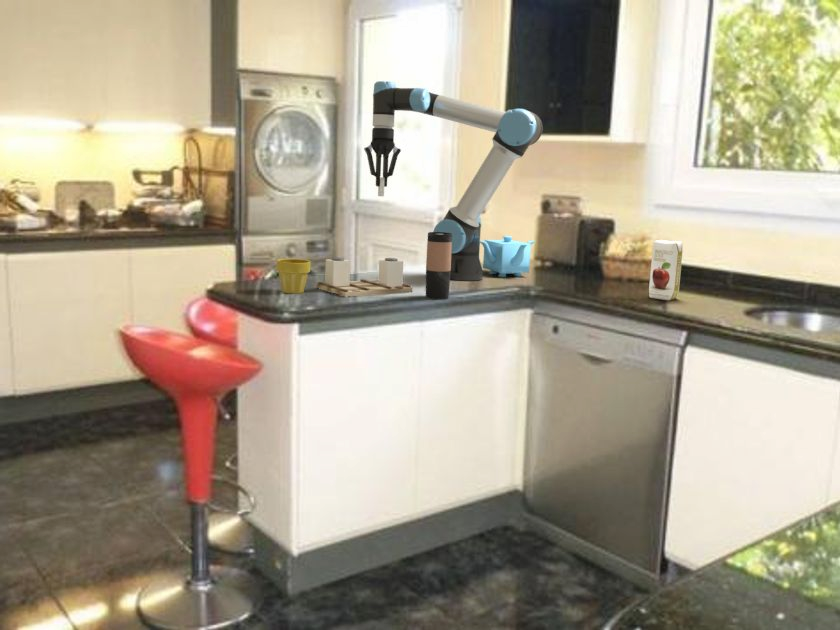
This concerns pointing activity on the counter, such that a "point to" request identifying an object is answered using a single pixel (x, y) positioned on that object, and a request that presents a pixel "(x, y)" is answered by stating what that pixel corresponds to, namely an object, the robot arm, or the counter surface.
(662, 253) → the juice carton
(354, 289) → the wooden tray
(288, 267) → the plant pot
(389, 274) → the button
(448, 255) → the travel mug
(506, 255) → the teakettle
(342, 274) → the button
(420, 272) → the counter surface
